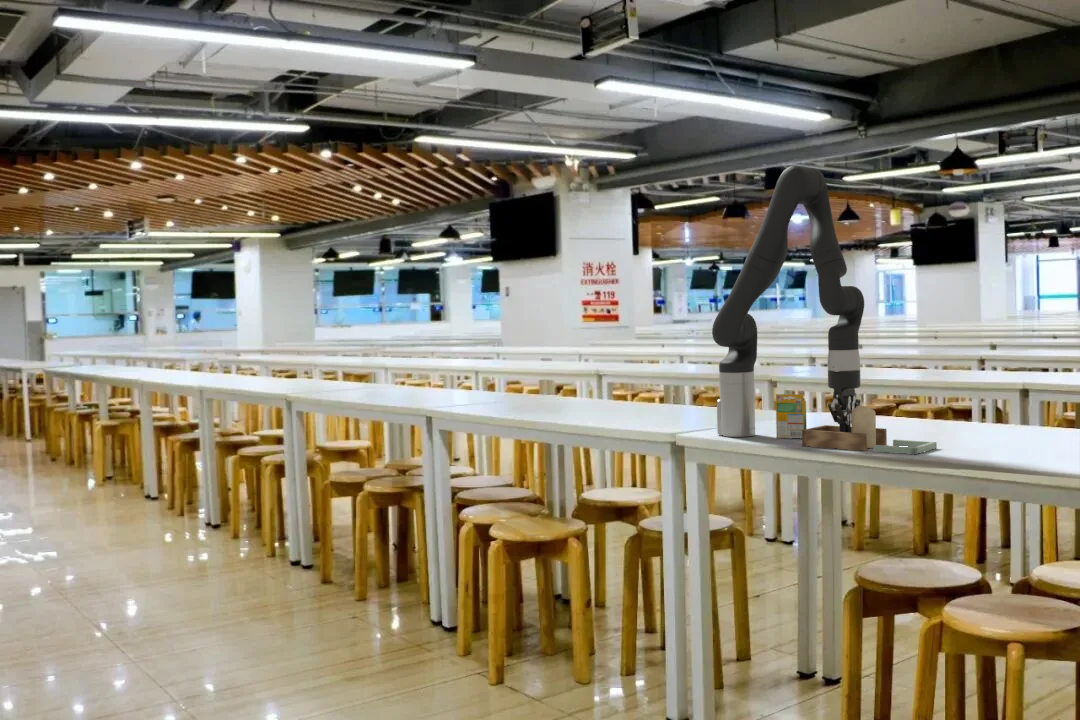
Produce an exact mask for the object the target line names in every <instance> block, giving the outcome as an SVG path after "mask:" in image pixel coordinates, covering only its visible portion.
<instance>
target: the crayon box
mask: <svg viewBox="0 0 1080 720" xmlns="http://www.w3.org/2000/svg"><path fill="white" fill-rule="evenodd" d="M788 397H791V398H793V399H788ZM786 398H787V399H786ZM794 398H795V399H794ZM806 403H807V402H806V400H804V394H798V393H797V394H796V393H795V394H794V393H793V394H792V393H791V394H790V393H789V394H786V393H785V394H783V393H781V394H780V393H779V394H777V393H776V394H775V420H776V421H775V423H776V429H775V430H776V439H792V438H800V440H802V439H801V438H802V430H805V429H808V428H807V404H806Z"/></svg>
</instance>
